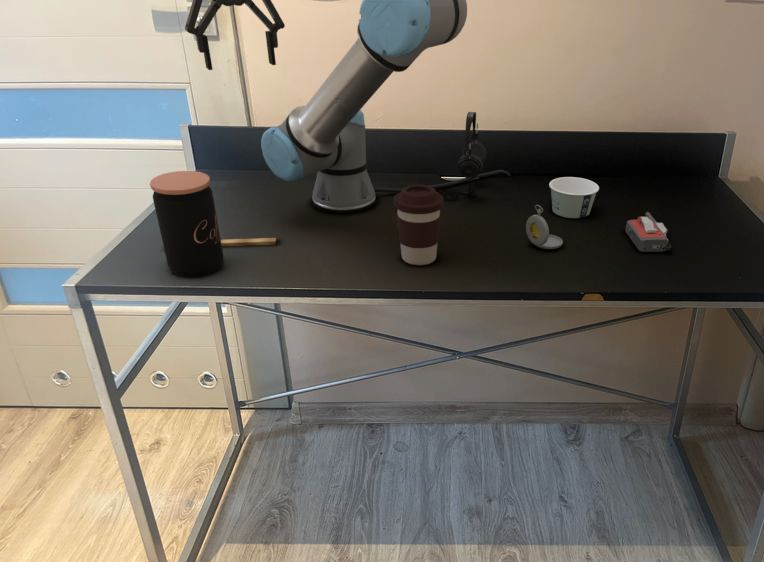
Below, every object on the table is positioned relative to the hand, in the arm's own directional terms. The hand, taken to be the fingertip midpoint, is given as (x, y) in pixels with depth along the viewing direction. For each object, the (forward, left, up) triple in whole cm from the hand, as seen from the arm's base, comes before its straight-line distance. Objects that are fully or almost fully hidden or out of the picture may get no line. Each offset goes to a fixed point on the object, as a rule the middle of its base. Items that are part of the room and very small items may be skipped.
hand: (241, 66), depth 152 cm
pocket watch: (-63, +29, -32) cm, 76 cm away
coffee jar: (+10, +32, -32) cm, 46 cm away
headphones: (-50, -5, -32) cm, 60 cm away
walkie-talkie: (-88, +26, -32) cm, 97 cm away
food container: (-75, +10, -32) cm, 82 cm away
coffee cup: (-35, +33, -32) cm, 58 cm away
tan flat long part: (+6, +22, -32) cm, 39 cm away
